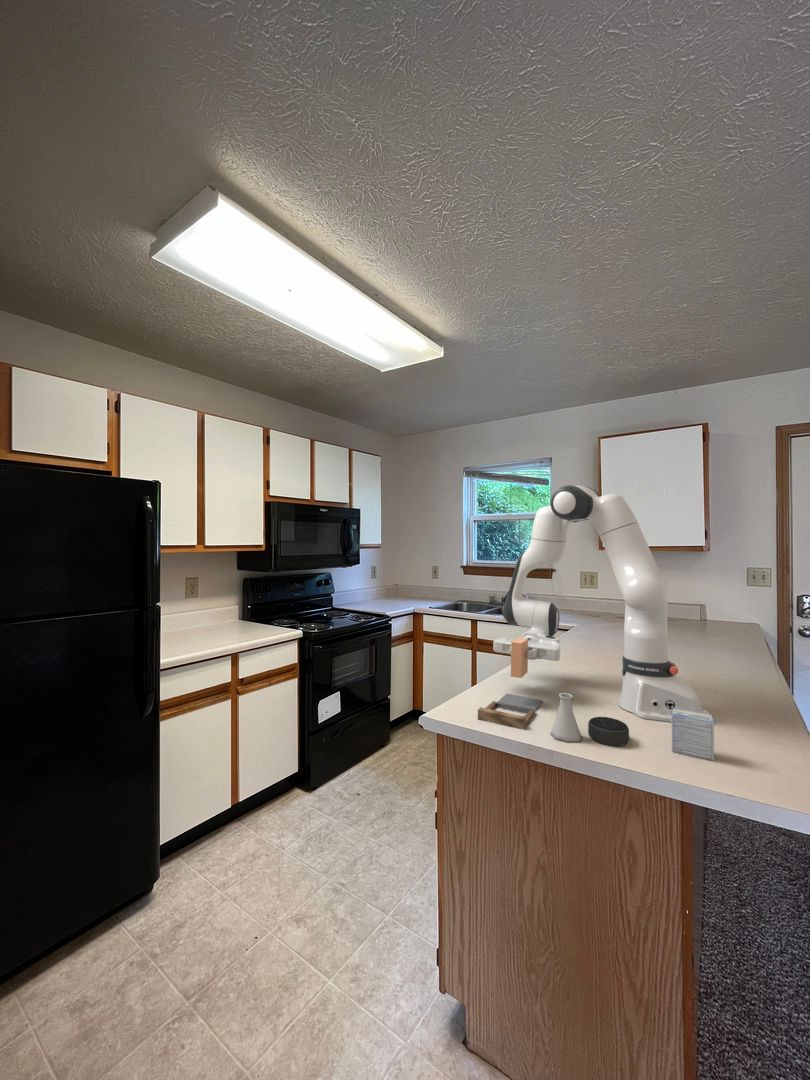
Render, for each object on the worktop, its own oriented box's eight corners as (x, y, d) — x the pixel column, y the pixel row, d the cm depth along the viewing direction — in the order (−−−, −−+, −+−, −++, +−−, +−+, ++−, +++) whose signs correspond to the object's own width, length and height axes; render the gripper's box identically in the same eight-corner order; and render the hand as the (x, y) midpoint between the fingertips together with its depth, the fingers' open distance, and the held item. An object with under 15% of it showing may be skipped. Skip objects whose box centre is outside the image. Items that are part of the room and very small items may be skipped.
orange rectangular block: (527, 672, 131) (528, 639, 131) (521, 678, 125) (521, 643, 125) (517, 670, 133) (518, 637, 133) (510, 676, 127) (511, 642, 127)
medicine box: (713, 753, 97) (712, 714, 98) (714, 761, 94) (714, 721, 94) (671, 745, 102) (671, 707, 102) (671, 752, 98) (671, 713, 98)
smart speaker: (602, 728, 111) (602, 713, 111) (636, 742, 103) (636, 725, 103) (580, 736, 106) (580, 720, 106) (615, 751, 99) (615, 733, 99)
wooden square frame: (535, 713, 120) (535, 704, 120) (523, 729, 110) (523, 719, 110) (493, 705, 126) (493, 696, 126) (477, 719, 116) (477, 709, 116)
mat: (542, 701, 130) (542, 700, 130) (535, 711, 122) (535, 709, 122) (506, 695, 135) (506, 693, 135) (497, 703, 128) (497, 702, 128)
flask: (584, 744, 102) (584, 701, 102) (552, 741, 103) (552, 698, 103) (578, 731, 109) (578, 691, 109) (548, 729, 110) (548, 689, 110)
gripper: (500, 631, 146) (486, 638, 134) (564, 639, 136) (555, 647, 124) (500, 650, 146) (486, 659, 134) (564, 659, 136) (554, 670, 124)
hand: (519, 653), depth 129 cm, fingers closed on orange rectangular block, 3 cm apart
